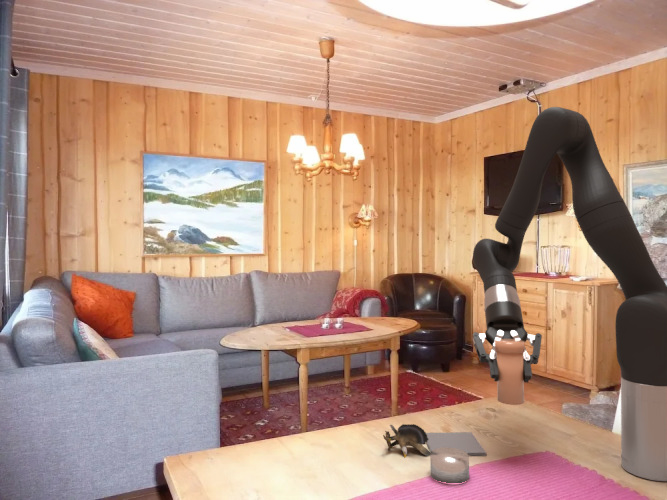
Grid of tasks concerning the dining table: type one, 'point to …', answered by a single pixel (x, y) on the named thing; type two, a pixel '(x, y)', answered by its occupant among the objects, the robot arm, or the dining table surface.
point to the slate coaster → (456, 442)
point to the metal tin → (449, 465)
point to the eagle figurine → (408, 438)
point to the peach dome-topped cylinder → (510, 371)
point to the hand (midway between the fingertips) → (511, 379)
